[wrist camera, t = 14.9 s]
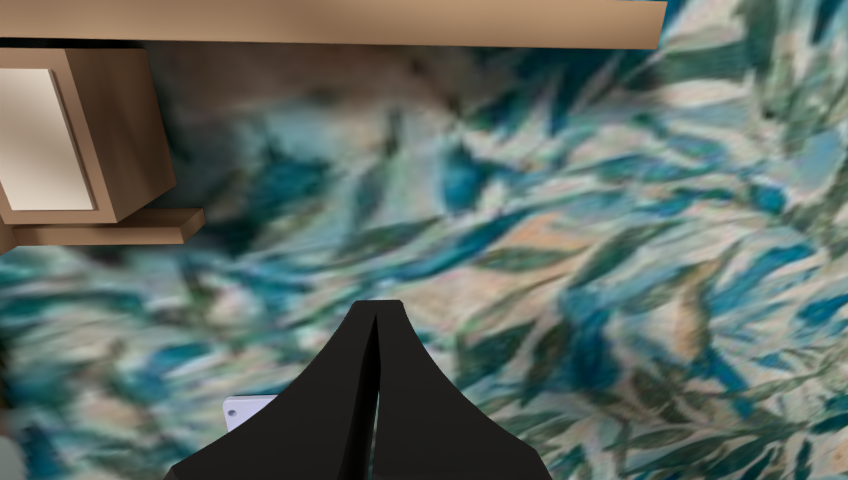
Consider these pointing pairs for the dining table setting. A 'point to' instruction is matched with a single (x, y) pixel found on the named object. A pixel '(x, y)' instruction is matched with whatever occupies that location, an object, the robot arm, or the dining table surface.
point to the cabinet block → (79, 135)
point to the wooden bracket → (313, 24)
